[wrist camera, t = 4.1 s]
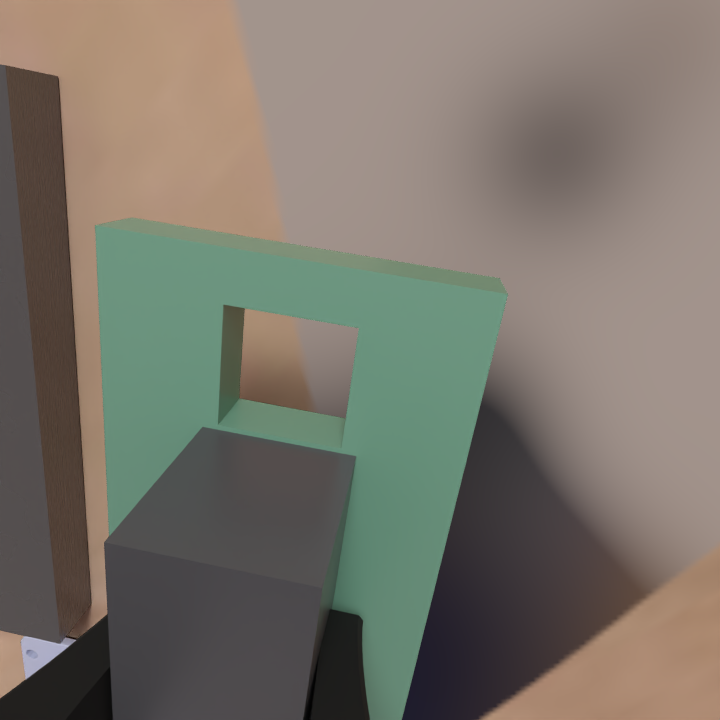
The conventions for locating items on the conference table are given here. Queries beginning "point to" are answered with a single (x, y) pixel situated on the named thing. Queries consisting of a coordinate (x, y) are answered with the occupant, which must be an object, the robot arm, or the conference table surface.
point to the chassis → (37, 373)
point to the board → (384, 406)
